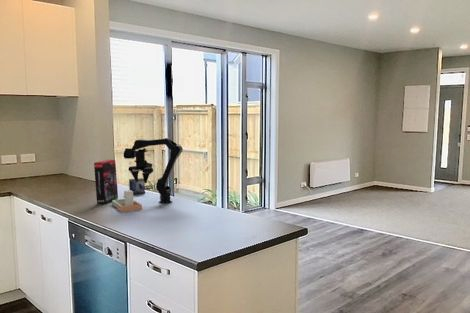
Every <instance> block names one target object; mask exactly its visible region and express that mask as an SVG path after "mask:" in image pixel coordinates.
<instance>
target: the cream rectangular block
mask: <svg viewBox="0 0 470 313" xmlns="http://www.w3.org/2000/svg"><path fill="white" fill-rule="evenodd" d="M123 194H124V195H123V196H124V198H123V199H125V206H131V205H134V203H133V200H134V194H133V191H131V190H129V189H128V190H127V189H126V190H124V191H123Z"/></svg>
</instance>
